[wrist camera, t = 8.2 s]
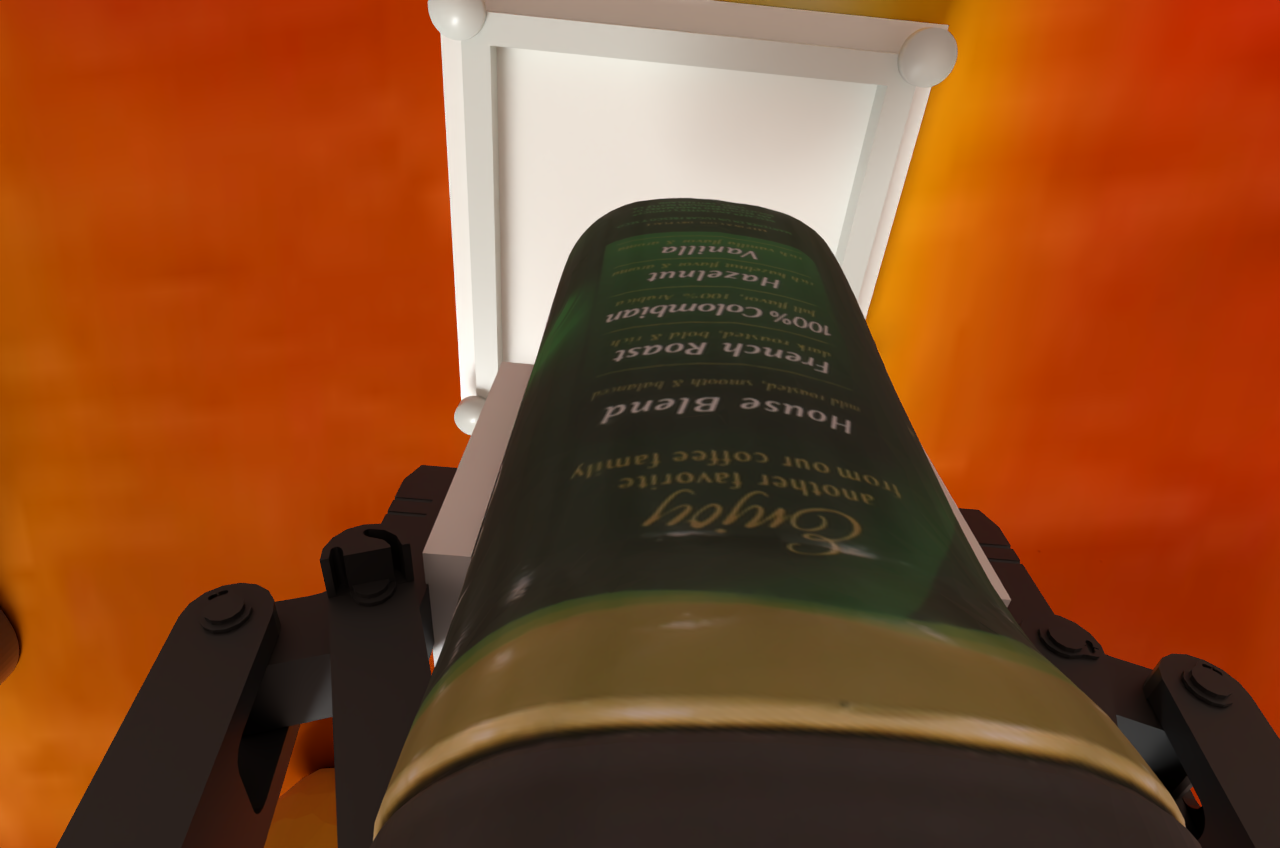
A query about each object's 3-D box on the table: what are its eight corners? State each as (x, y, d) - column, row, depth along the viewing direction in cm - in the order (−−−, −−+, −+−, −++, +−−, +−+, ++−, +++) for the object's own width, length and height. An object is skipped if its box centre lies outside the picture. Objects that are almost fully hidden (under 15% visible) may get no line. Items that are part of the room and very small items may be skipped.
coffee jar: (553, 175, 17) (-358, 1848, 2) (862, 203, 18) (2520, 1902, 2) (548, 480, 23) (308, 1598, 7) (787, 499, 23) (1082, 1620, 7)
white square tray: (469, 400, 35) (453, 436, 32) (447, -28, 25) (422, -30, 22) (823, 429, 35) (838, 466, 32) (934, 23, 26) (969, 27, 23)
